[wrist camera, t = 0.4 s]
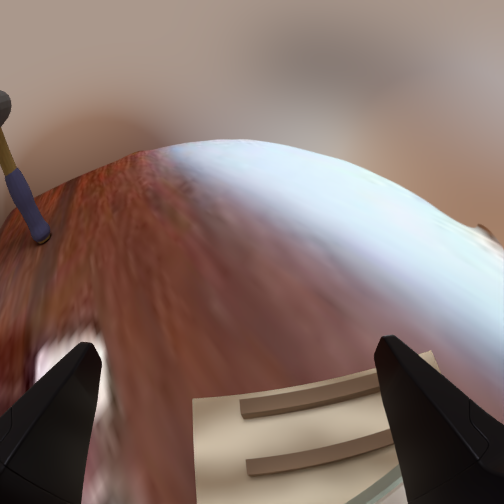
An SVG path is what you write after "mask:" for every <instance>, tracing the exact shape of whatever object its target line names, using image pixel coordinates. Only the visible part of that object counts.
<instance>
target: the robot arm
mask: <svg viewBox="0 0 504 504" xmlns="http://www.w3.org/2000/svg"><path fill="white" fill-rule="evenodd" d="M374 361H375V366H376V371H377V376H378V382H379V387H380V393H381V398H382V402H383V406H384V409H385V413H386V416H387V420H388V423H389V427H390V431H391V434H392V438H393V442H394V446H395V450H396V454H397V458H398V462H399V466H400V470H401V475H402V479H403V484H404V488H405V493H406V498H407V502H408V504H504V425H503V424H502V423H500V422H499V421H497V420H496V419H495V418H493V417H492V416H491V415H489V414H488V413H487V412H485V411H484V410H483V409H482V408H481V407H479V406H478V405H477V404H476V403H475V402H474V401H472V400H471V399H469V397H468V396H466V395H465V394H464V393H463V392H462V391H461V390H459V389H458V388H457V387H456V386H455V385H454V384H452V383H451V382H450V381H449V380H448V379H447V378H445V377H444V376H443V375H442V374H441V373H439V372H438V371H437V370H436V369H435V368H434V367H432V366H431V365H430V364H429V363H428V362H426V361H425V360H424V359H423V358H422V357H420V356H419V355H418V354H417V353H416V352H414V351H413V350H412V349H411V348H410V347H408V346H407V345H406V344H405V343H403V342H402V341H401V340H400V339H399V338H397V337H396V336H395V335H387V336H382V337H381V339H380V341H379V343H378V346H377V348H376V351H375V354H374ZM101 368H102V361H101V358H100V356H99V354H98V352H97V351H96V349H95V347H94V345H93V344H92V343H89V342H80V343H79V344H78V345H77V346H75V347H74V348H73V349H72V350H71V351H70V352H69V353H68V354H67V355H65V356H64V357H63V358H62V359H61V360H60V361H59V362H58V363H57V364H56V365H55V366H53V367H52V368H51V369H50V370H49V371H48V372H47V373H46V374H45V375H44V376H43V377H42V378H41V379H39V380H38V381H37V382H36V383H35V384H34V385H33V386H32V387H31V388H30V389H29V390H28V391H27V392H26V393H25V394H24V395H23V396H22V397H21V398H20V399H19V400H18V401H17V402H15V403H14V404H13V405H12V407H10V408H9V409H8V410H7V411H6V412H5V413H4V414H3V415H2V416H1V417H0V504H81V499H82V490H83V482H84V474H85V467H86V460H87V454H88V448H89V442H90V437H91V432H92V426H93V421H94V417H95V412H96V407H97V400H98V391H99V383H100V375H101Z"/></svg>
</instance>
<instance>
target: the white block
mask: <svg viewBox="0 0 504 504" xmlns="http://www.w3.org/2000/svg"><path fill="white" fill-rule="evenodd" d="M345 504H408V502H407V498H406V493H405V488H404V484H403V479H402V475H401V470H400V466H399V464H398V465H397V466H396V467H395V468H393V469H392V470H391V471H390V472H388V473H387V474H386V475H384V476H383V477H382V478H381V479H379V480H378V481H377V482H375V483H374V484H373V485H371V486H370V487H368V488H367V489H366V490H364V491H363V492H361V493H360V494H358V495H357V496H356V497H354V498H353V499H351V500H350V501H348V502H346V503H345Z"/></svg>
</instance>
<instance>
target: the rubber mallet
mask: <svg viewBox="0 0 504 504" xmlns="http://www.w3.org/2000/svg"><path fill="white" fill-rule="evenodd" d="M10 112H11V100H10V98H9V95H7V94H6V93H5V92H3V91H0V165H1V167H2V170H3V172H4V175H5V181H6V184H7V187H8V190H9V193H10V195H11V197H12V199H13V201H14V203H15V205H16V206H17V208H18V209H19V211H20V212H21V214H22V216H23V218H24V220H25V221H26V223H27V225H28V227H29V229H30V232H31V236H32V238H33V239H34V240H35V241H36V242H38V243H40V244H41V243H44V242H45V241H46V240H47V239H48V238H49V237H50V227H49V225H48V224H47V222H46V221H45V220H44V219H43V217H42V216H41V214H40V212H39V210H38V208H37V206H36V204H35V201H34V198H33V195H32V192H31V190H30V188H29V186H28V184H27V182H26V180H25V178H24V176H23V174H22V173H21V171H20V170H19V169H18V168H17V167H16V165H15V162H14V160H13V158H12V155H11V153H10V150H9V148H8V145H7V142H6V140H5V137H4V134H3V132H2V129H1V126H2V125H3V124H4V122H5V121H6V119H7V118H8V116H9V114H10Z"/></svg>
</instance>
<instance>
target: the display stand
mask: <svg viewBox="0 0 504 504" xmlns="http://www.w3.org/2000/svg"><path fill="white" fill-rule="evenodd" d="M419 356H420V357H422V358H423V359H424V360H425V361H426V362H428V363H429V364H430V365H431V366H432V367H434V368H435V369H436V370H437V371H438V372H439V373H441V372H440V370H439V367H438V365H437V363H436V360H435V358H434V356H433V354H432V351H428V352H425V353H422V354H419ZM193 438H194V461H195V479H196V494H197V504H345V503H346V502H348V501H350V500H351V499H353V498H354V497H356V496H357V495H358V494H360V493H361V492H363V491H364V490H366V489H367V488H368V487H370V486H371V485H373V484H374V483H375V482H377V481H378V480H379V479H381V478H382V477H383V476H384V475H386V474H387V473H388V472H390V471H391V470H392V469H393V468H395V467H396V466H397V465H398V464H399V462H398V458H397V454H396V450H395V446H394V442H393V438H392V434H391V431H390V427H389V423H388V420H387V416H386V413H385V409H384V406H383V402H382V398H381V393H380V387H379V382H378V376H377V371H376V368H374V369H370V370H366V371H363V372H359V373H355V374H351V375H347V376H343V377H338V378H334V379H330V380H325V381H320V382H315V383H310V384H305V385H300V386H295V387H289V388H283V389H277V390H270V391H264V392H257V393H249V394H241V395H232V396H222V397H211V398H198V399H193Z"/></svg>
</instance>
